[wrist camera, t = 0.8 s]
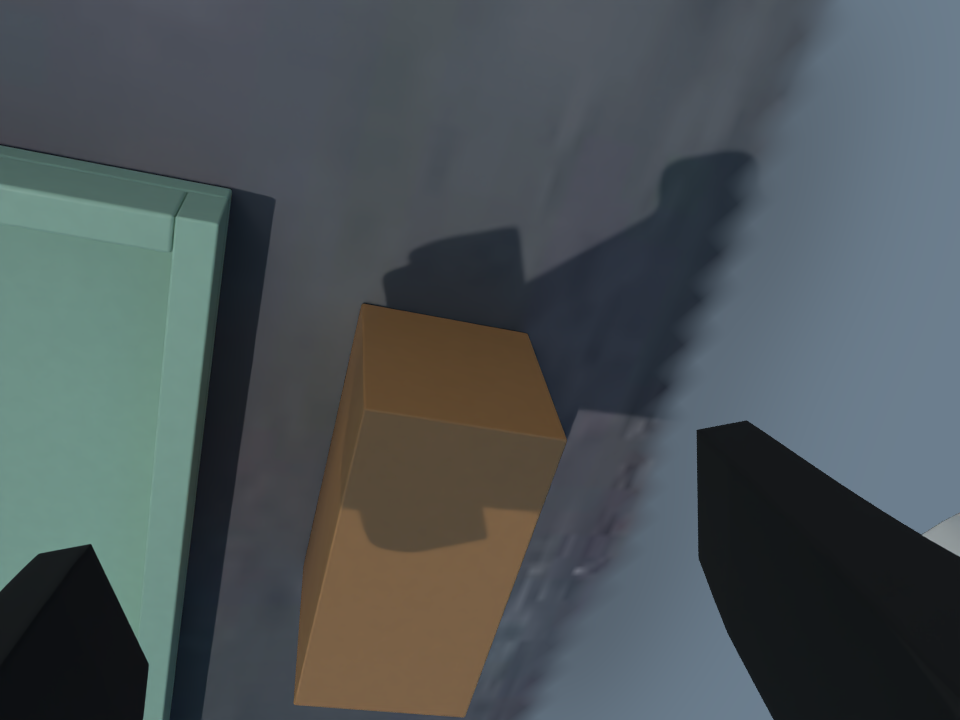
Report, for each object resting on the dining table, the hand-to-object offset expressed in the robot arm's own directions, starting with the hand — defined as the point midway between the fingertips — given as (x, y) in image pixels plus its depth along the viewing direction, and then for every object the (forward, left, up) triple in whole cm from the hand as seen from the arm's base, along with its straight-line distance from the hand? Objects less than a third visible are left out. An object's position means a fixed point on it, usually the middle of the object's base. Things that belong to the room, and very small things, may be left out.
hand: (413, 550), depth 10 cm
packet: (-4, +4, -10) cm, 12 cm away
